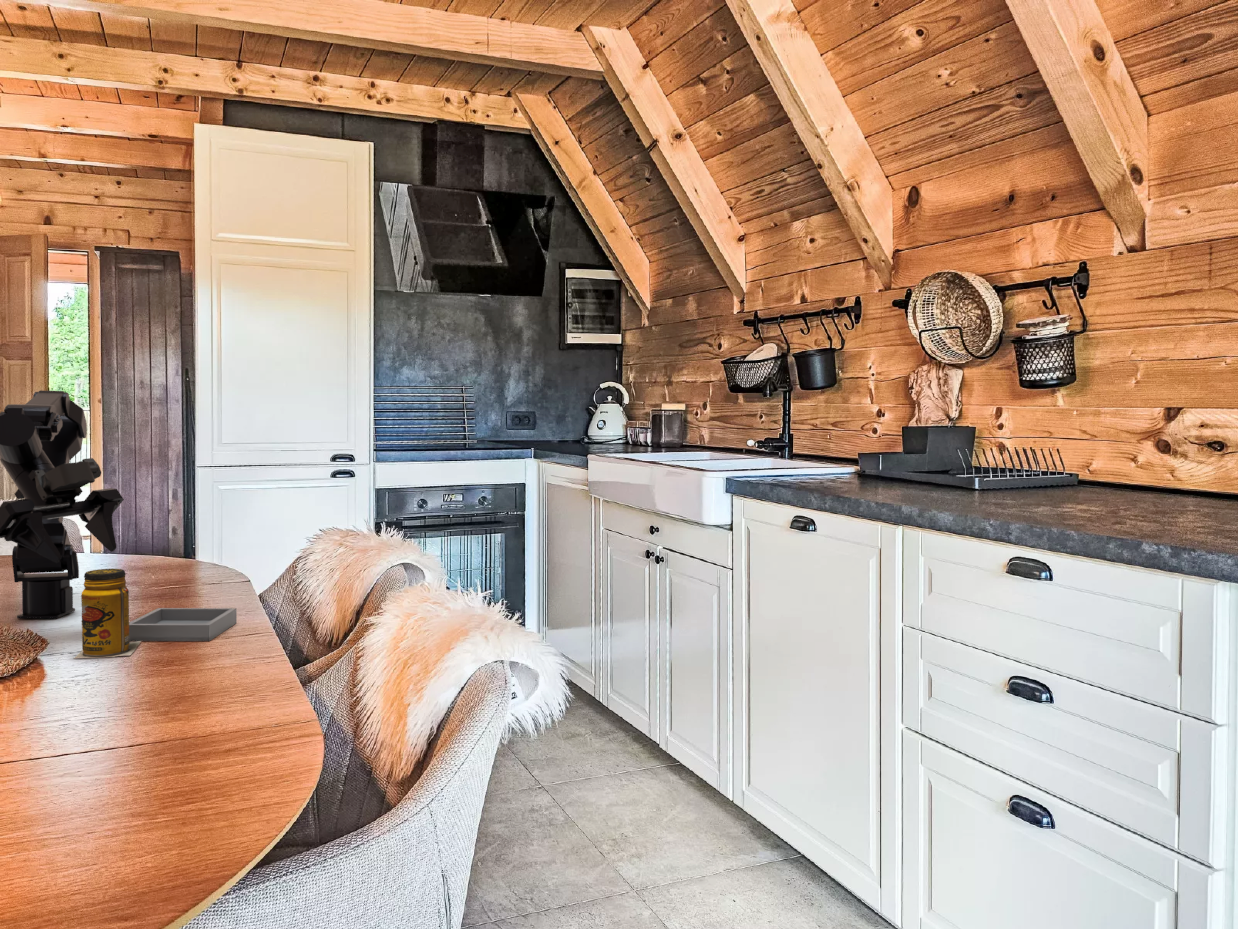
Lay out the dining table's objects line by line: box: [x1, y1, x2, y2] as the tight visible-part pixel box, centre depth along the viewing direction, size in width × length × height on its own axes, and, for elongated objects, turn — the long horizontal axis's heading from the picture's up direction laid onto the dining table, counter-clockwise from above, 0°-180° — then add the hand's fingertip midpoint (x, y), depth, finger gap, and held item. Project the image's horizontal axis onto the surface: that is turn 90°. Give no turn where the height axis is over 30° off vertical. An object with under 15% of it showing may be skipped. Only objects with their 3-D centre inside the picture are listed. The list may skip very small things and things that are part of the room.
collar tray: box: [129, 607, 238, 642], centre depth 149 cm, size 13×13×2 cm
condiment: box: [73, 568, 142, 660], centre depth 136 cm, size 7×8×12 cm
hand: (87, 555), depth 140 cm, fingers open, 9 cm apart
